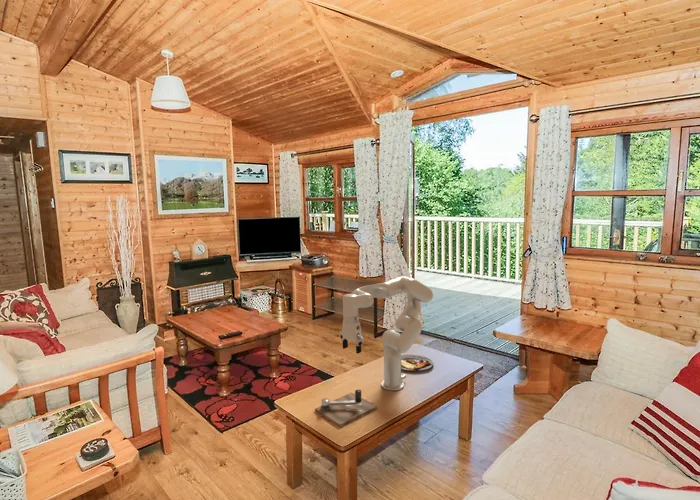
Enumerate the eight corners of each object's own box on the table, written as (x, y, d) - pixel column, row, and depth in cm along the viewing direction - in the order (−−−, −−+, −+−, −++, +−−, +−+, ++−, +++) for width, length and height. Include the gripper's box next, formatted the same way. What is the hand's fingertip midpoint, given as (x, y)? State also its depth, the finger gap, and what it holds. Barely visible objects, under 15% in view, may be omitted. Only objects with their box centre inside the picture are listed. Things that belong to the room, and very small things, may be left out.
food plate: (441, 367, 247) (441, 362, 246) (410, 377, 235) (410, 371, 235) (415, 355, 268) (415, 350, 268) (386, 363, 257) (386, 357, 256)
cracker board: (351, 395, 214) (351, 390, 214) (377, 408, 200) (377, 404, 200) (315, 411, 198) (314, 406, 198) (340, 427, 184) (340, 422, 184)
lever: (361, 402, 201) (360, 389, 200) (361, 407, 197) (361, 393, 196) (321, 404, 200) (321, 390, 199) (321, 408, 196) (321, 394, 195)
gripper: (368, 319, 202) (369, 352, 205) (344, 313, 215) (345, 344, 217) (358, 323, 197) (359, 357, 200) (333, 316, 209) (335, 348, 212)
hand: (352, 350), depth 208 cm, fingers open, 9 cm apart
